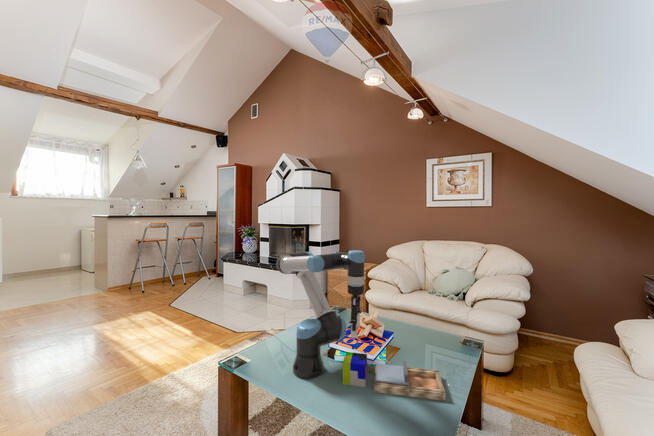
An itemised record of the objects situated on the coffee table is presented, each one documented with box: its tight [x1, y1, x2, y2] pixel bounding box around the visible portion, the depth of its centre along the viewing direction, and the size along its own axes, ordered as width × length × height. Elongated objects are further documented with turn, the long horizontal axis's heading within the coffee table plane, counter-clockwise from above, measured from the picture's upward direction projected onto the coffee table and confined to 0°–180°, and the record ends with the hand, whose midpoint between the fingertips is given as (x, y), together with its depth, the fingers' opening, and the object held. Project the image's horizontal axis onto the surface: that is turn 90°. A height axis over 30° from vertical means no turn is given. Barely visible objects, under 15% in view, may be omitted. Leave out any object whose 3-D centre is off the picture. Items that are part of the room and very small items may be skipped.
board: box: [373, 363, 447, 402], centre depth 135 cm, size 29×18×3 cm, turn 79°
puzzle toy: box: [342, 351, 368, 387], centre depth 138 cm, size 10×10×10 cm
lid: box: [375, 360, 409, 386], centre depth 136 cm, size 14×14×4 cm
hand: (355, 332), depth 138 cm, fingers open, 11 cm apart
